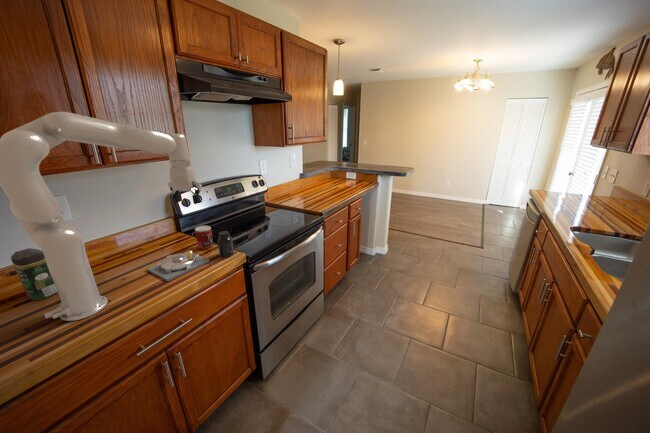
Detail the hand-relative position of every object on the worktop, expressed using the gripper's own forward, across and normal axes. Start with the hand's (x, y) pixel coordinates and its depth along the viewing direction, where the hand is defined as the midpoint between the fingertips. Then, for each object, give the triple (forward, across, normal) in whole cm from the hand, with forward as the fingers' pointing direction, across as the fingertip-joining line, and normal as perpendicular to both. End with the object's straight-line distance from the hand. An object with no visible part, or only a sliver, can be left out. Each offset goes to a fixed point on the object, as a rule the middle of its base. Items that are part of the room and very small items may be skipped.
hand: (187, 202), depth 118 cm
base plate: (+29, -4, -7) cm, 30 cm away
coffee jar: (+29, -38, -39) cm, 62 cm away
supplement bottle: (+29, +10, +8) cm, 32 cm away
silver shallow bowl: (+28, -4, -7) cm, 29 cm away
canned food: (+29, -6, +13) cm, 33 cm away
